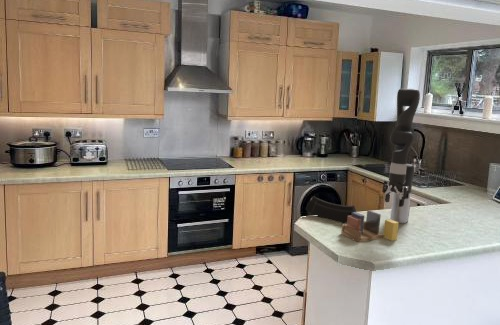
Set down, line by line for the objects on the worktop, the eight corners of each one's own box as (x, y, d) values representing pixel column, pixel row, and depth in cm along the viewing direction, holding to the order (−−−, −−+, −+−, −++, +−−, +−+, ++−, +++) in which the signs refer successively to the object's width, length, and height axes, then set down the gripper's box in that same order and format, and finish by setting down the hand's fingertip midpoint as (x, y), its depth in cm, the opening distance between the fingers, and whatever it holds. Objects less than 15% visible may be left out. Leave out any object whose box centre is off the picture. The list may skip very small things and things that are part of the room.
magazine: (363, 209, 224) (316, 184, 238) (361, 210, 222) (314, 185, 236) (351, 236, 230) (306, 210, 244) (349, 237, 227) (304, 211, 241)
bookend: (366, 228, 216) (369, 210, 214) (378, 233, 209) (380, 214, 208) (365, 228, 216) (367, 210, 214) (376, 234, 209) (379, 214, 207)
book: (388, 236, 211) (390, 219, 210) (396, 239, 207) (398, 222, 205) (383, 237, 210) (385, 219, 208) (391, 240, 205) (393, 223, 203)
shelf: (365, 229, 219) (368, 208, 217) (383, 237, 209) (385, 215, 207) (341, 233, 210) (343, 212, 208) (358, 242, 200) (360, 219, 198)
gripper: (415, 174, 198) (410, 207, 201) (391, 168, 210) (388, 199, 213) (404, 175, 194) (400, 209, 197) (381, 169, 206) (377, 201, 209)
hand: (393, 204), depth 205 cm, fingers open, 8 cm apart
